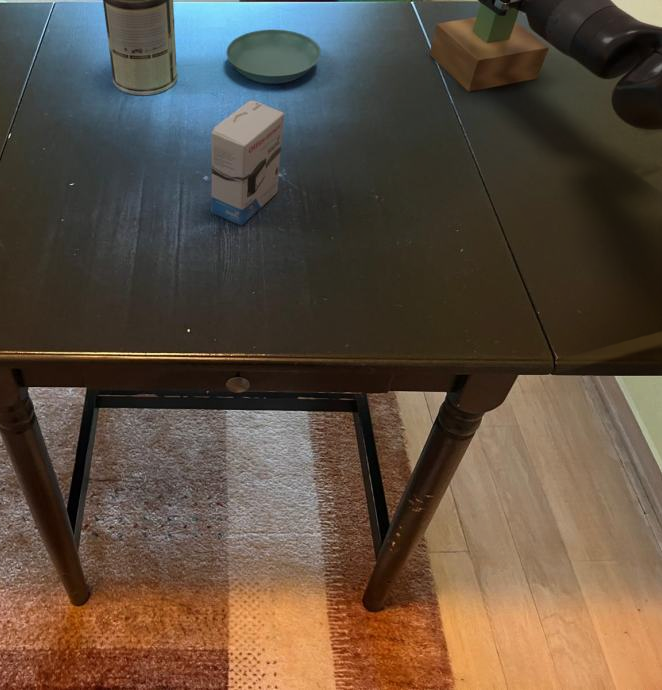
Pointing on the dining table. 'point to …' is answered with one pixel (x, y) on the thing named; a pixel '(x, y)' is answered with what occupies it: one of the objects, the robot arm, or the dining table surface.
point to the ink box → (246, 161)
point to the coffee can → (141, 45)
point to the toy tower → (494, 24)
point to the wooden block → (486, 55)
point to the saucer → (273, 55)
